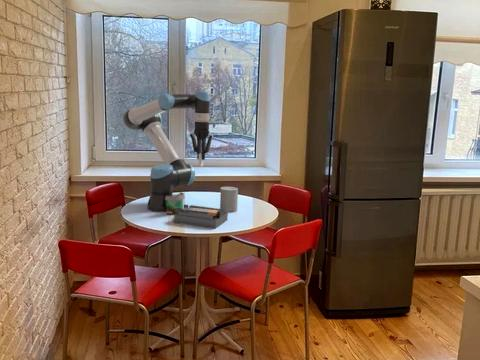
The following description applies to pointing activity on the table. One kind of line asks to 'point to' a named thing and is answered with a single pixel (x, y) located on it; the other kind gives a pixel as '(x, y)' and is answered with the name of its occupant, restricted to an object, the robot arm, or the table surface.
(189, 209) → the beige and orange bar
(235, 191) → the concrete plant pot
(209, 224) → the grey metal tray
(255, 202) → the table surface
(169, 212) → the food container
